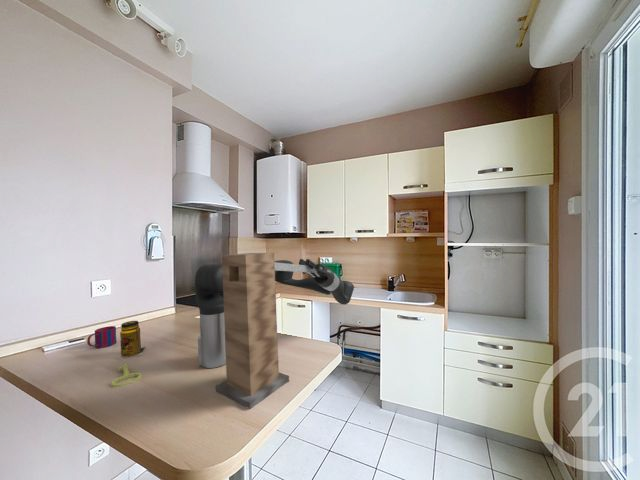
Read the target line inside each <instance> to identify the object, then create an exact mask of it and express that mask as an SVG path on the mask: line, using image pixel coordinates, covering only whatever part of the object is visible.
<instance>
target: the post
mask: <svg viewBox="0 0 640 480" xmlns="http://www.w3.org/2000/svg"><path fill="white" fill-rule="evenodd" d="M274 261H275V252H246V253H245V252H244V253H233V254H232V253H231V254H230V253H229V254H222V255H221V265H222V271H223V291H222V292H223V295H222V298H224V323H225V350H226V364H225V372H226V373H225V374H226V380H223V381H222V382H219V383H218V384H216V385H215V392H216V393H218V394H220V395H222V396H225V397H226V398H229V399H231V400H232V401H234V402H235V403H237V404H239V405H242V406H243V407H245V408H247V409H248V410H249V409H250V410H251V409H252V408H254V407H255V406H256V405H258V404H259V403H261V402H262V401H264V400H265V399H266V398H267V397H269V396H270V395H272V394H273V393H275V392H276V391H277V390H279V389H280V388H281V387H283V386H285V385H286V384H287V383H288V382H290V375H288V374H286V373H285V374H284V373H282V372H280V371H279V347H278V346H279V345H278V323H277V322H278V320H277V317H278V316H277V297H276V296H277V295H276V294H277V293H276V281H275V265H274Z"/></svg>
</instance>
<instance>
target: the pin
mask: <svg viewBox="0 0 640 480" xmlns="http://www.w3.org/2000/svg"><path fill="white" fill-rule="evenodd" d="M274 265H275V270H277V271H294V272H293V273H295V272H296V273H297V272H298V273H302V272H310V273H314V271H313V270H312V268H310V267H308V266H307V265H299V264H296V263H295V264H294V263H293V264H286V263H276V262H274Z"/></svg>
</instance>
